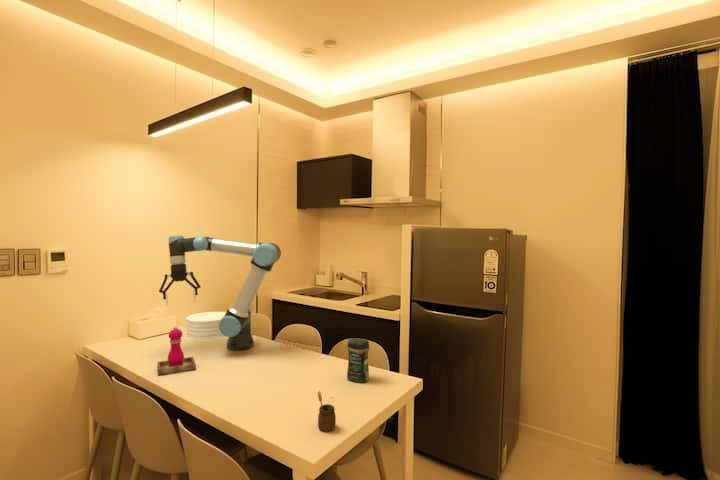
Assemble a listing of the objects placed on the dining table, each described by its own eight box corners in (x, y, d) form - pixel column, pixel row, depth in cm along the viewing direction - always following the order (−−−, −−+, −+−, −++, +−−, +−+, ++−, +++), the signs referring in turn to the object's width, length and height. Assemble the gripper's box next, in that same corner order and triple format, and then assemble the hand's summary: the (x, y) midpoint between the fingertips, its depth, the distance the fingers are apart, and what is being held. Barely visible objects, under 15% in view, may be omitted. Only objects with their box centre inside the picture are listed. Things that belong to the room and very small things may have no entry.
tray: (193, 362, 196) (192, 356, 196) (195, 370, 186) (195, 363, 186) (157, 367, 189) (157, 361, 189) (158, 376, 178) (158, 369, 178)
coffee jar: (344, 380, 174) (344, 339, 173) (353, 374, 181) (353, 335, 180) (363, 384, 169) (363, 342, 168) (371, 378, 176) (371, 338, 175)
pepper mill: (178, 370, 183) (177, 328, 183) (164, 369, 184) (163, 327, 184) (187, 364, 190) (186, 324, 190) (173, 363, 191) (173, 323, 191)
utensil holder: (330, 433, 128) (330, 398, 128) (314, 429, 131) (314, 394, 131) (338, 425, 134) (338, 391, 133) (322, 421, 136) (322, 388, 136)
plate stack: (176, 338, 241) (176, 320, 240) (202, 327, 268) (202, 310, 268) (218, 340, 236) (218, 322, 236) (239, 329, 264) (239, 312, 263)
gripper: (202, 262, 218) (205, 300, 216) (151, 266, 205) (154, 306, 204) (203, 261, 211) (207, 300, 210) (152, 266, 199) (155, 307, 197)
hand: (181, 303), depth 207 cm, fingers open, 13 cm apart
